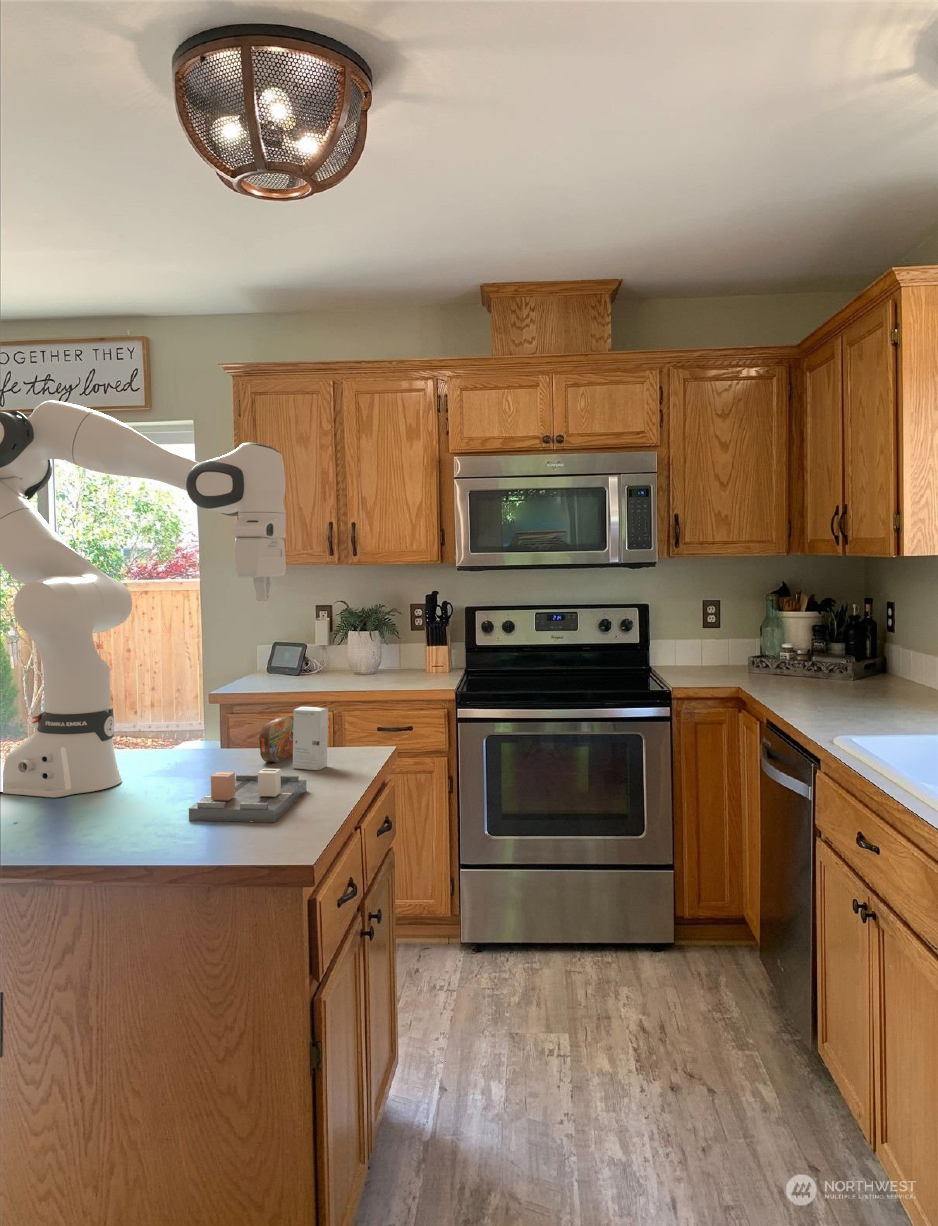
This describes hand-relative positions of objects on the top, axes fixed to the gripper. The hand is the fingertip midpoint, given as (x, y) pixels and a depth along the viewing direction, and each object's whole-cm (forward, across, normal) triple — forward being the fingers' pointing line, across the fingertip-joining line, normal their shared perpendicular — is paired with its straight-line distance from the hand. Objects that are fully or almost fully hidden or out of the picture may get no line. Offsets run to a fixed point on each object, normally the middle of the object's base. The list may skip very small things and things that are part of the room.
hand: (263, 600), depth 172 cm
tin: (+34, -16, -2) cm, 38 cm away
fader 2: (+32, +21, +7) cm, 39 cm away
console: (+34, +20, +4) cm, 40 cm away
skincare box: (+34, -8, +7) cm, 36 cm away
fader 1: (+32, +24, 0) cm, 40 cm away
